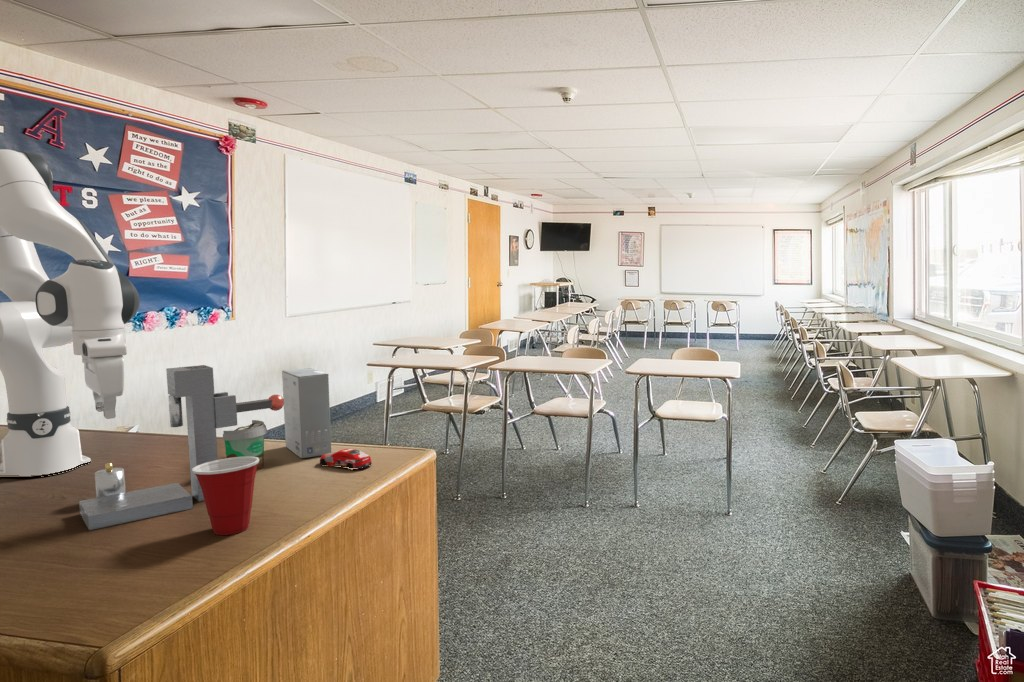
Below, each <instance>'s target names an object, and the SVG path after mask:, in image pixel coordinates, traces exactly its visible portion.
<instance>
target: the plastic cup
mask: <svg viewBox="0 0 1024 682" xmlns="http://www.w3.org/2000/svg"><path fill="white" fill-rule="evenodd" d="M258 463H259V458H258V457H234V458H227V457H226V458H220V459H218V460H215V461H211V462H207V463H204V464H201V465H198V466H196V467H194V468H192V471H193V473H195V475H196V477H197V478H198V481H199V483H200V486H201V489H202V492H203V496H204V504H205V508H206V511H207V515H208V517H209V520H210V526H211V530H212V531H213V533H214V534H216V535H220V536H229V535H236V534H239V533H243V532H244V531H246V530H247V529H248V528H249V525H250V520H251V514H252V513H251V511H252V506H253V499H254V498H253V497H254V489H255V479H256V476H257V475H256V473H257V471H256V468H257V465H258Z"/></svg>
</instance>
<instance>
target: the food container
mask: <svg viewBox="0 0 1024 682" xmlns="http://www.w3.org/2000/svg"><path fill="white" fill-rule="evenodd" d="M222 432H223V433H222V441H224V447H225V455H226V456H225V457H226V458H234V457H258V458H259V463H258V465H257V468H256V472H257V471H258V470H259V471H260V470H262V469H263V468H264V462H265V461H264V458H265V435H266V434H267V433H268V428H267V426H266V424H265V422H264V421H262V420H258V419H252V420H251V424H249V425H246V426H239V427H237V428H236V429H233V430H223V431H222Z"/></svg>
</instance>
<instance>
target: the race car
mask: <svg viewBox="0 0 1024 682" xmlns="http://www.w3.org/2000/svg"><path fill="white" fill-rule="evenodd" d="M331 452H332V453H327V454H324V455H321V457H319V464H320V465H321V466H322V465H328V466H327V467H331V466H341V467H349V468H361V469H363V468H362V467H364V468H367V467H369V465H370V466H372V465H371V464H372V458H371V456H370V455H369V454H367V453H365V452H363V451H362V450H358V449H355V448H344V449H340V450H338V451H331ZM366 466H367V467H366Z"/></svg>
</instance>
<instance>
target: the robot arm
mask: <svg viewBox="0 0 1024 682" xmlns="http://www.w3.org/2000/svg"><path fill="white" fill-rule="evenodd" d="M52 189H53V172H52V170H51V167H50V165H49V163H48V161H47V160H46V159H45V157H43V156H42V154H39V153H36V152H31V151H26V150H21V151H20V152H19V151H16V150H14V149H13V150H12V149H9V148H7V149H4V148H3V149H1V148H0V292H2V293H3V294H4V295H6V296H7V297H8V298H9V300H10V301H6V302H5V301H2V302H0V372H1V374H2V376H3V380H4V383H5V385H4V386H5V389H6V391H5V392H6V396H7V397H6V398H7V407H8V412H7V413H6V423H7V429H8V432H7V434H6V435H4V437H3V438H2V439H1V442H0V455H1V456H0V462H1V463H0V475H19V476H31V475H42V474H50V473H55V472H60V471H64V470H68V469H71V468H74V467H76V466H78V465H80V464H83V463H87V462H90V461H91V462H92V459H91V457H88V456H86V455H83V453H82V445H81V438H80V431H79V429H78V428H76V427H75V426H73V425H72V424H71V411H70V406H68V402H67V390H66V379H65V375H64V373H63V372H62V371H61V370H60V369H59V368H57V367H55V366H52V365H50V363H49V362H48V361H47V359H46V357H45V356H44V355H45V354H44V353H43V349H46V348H55V347H62V346H65V345H67V344H71V343H72V348H73V355H75V356H81V362H82V364H83V367H84V371H83V372H84V380H85V381H84V382H85V387H87V388H88V389H90V390H91V391H92V396H93V400H94V403H95V404H94V405H95V406H94V407H95V410H96V412H103V417H104V419H107V420H109V419H115V418H116V412H117V411H116V409H117V408H116V406H117V397H121V396H123V394H124V389H125V357H124V356H126V355H127V354H128V349H127V342H126V328H125V325H126V324H127V323H128V322H130V321H131V320H132V319H133V318H134V316H136V313H138V311H139V308H140V304H141V300H140V295H139V292H138V289H137V288H136V286H135V285H134V284H133V283H132V282H131V281H130V279H128V278H127V277H126V276H125V275H124V274H123V272H121V271H120V270H119V269H118V267H117V266H116V264H115V263H114V262H113V260H112V259H111V258H110V256H109V255H108V253H107V252H106V251H105V249H104V248H103V246H101V243H99V241H98V239H97V238H96V237H95V235H94V234H93V233H92V231H90V229H89V228H88V226H86V224H85V223H84V222H82V221H81V220H80V219H79V218H77V217H75V215H72V214H71V213H70V212H68V211H67V210H66V209H65V208H64V207H63V206H62V205H60V203H59V202H58V201H57V199H55V197H54V196H53V194H52V193H51V191H52ZM34 243H36V244H39V245H43V246H47V247H49V248H54V249H56V250H59V251H61V252H64V253H66V254H67V255H69V256H71V257H72V258H73V259H74V260H73V261H71V262H70V263H69V265H68V268H67V270H66V271H65V272H64V273H62V274H60V275H58V276H56V277H55V278H52V279H50V278H49V276H48V275H47V273H46V272H45V271H46V270H44V268H43V265H42V263H41V260H40V258H39V255H38V252H37V249H36V246H35V244H34Z"/></svg>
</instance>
